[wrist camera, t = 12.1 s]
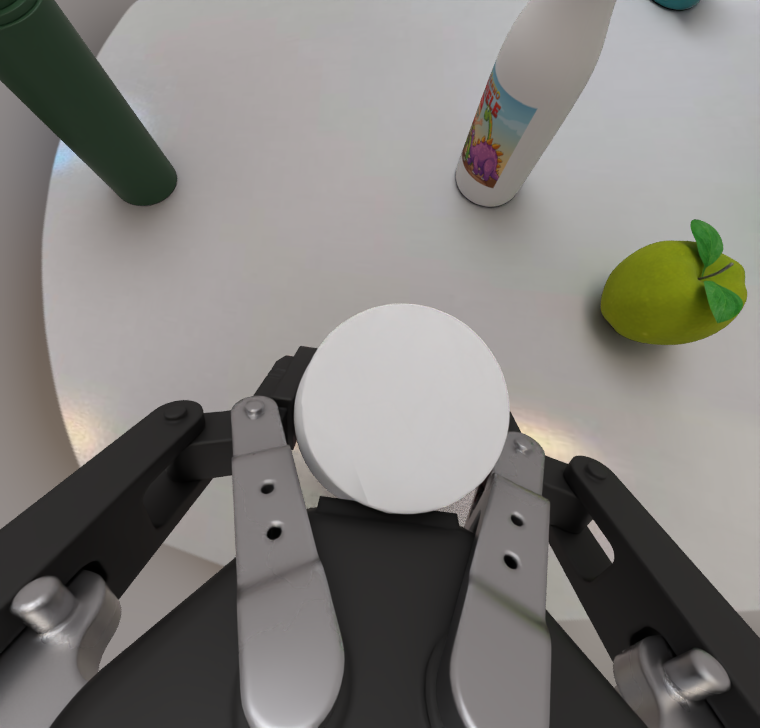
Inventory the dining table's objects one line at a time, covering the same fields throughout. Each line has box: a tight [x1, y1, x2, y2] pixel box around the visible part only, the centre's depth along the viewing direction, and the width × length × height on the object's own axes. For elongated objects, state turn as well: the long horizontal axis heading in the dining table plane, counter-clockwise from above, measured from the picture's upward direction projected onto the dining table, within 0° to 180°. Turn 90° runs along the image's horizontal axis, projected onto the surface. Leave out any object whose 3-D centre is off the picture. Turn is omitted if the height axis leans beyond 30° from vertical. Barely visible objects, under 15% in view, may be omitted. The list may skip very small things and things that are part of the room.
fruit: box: [601, 219, 747, 345], centre depth 27 cm, size 9×9×10 cm
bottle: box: [0, 0, 177, 206], centre depth 23 cm, size 6×6×19 cm
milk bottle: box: [456, 0, 616, 207], centre depth 25 cm, size 8×8×20 cm
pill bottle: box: [294, 304, 510, 514], centre depth 12 cm, size 6×6×11 cm
